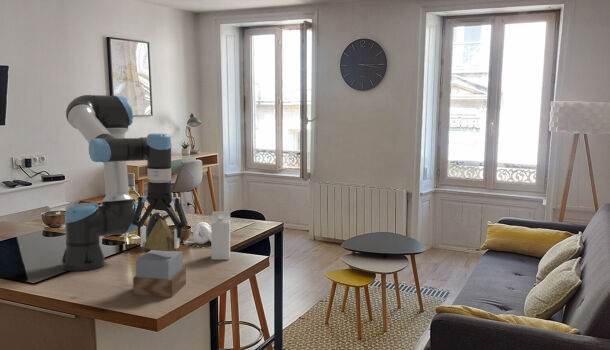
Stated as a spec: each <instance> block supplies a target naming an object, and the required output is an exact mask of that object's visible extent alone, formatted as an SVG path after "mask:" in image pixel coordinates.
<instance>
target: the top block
mask: <svg viewBox="0 0 610 350" xmlns="http://www.w3.org/2000/svg"><path fill="white" fill-rule="evenodd" d="M183 257H184V256H183V251H177V250H175V251H157V250H149V251H147V252H146V253H144V254H142V255H140V256H139V257H137V258H136V259H135V276H136V277H139V278H153V279H166V280H169V279H170V278H171V277H173V276H174V275H175V274H176V273H178V272H179V271H180V270H182V269H183V268H184V266H183V264H184V263H183V261H184V260H183V259H184V258H183Z"/></svg>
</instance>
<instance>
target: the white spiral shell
mask: <svg viewBox="0 0 610 350" xmlns="http://www.w3.org/2000/svg"><path fill="white" fill-rule="evenodd" d="M192 237H193V240H194V242H195V243H197V244H199V245H203V244H205V243H207V242H210V243H211V224H209V223H207V222H205V221H200V222H199V223H197V224H196V225H195V226H194V227H193V231H192Z"/></svg>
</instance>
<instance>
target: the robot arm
mask: <svg viewBox="0 0 610 350" xmlns="http://www.w3.org/2000/svg"><path fill="white" fill-rule="evenodd" d="M65 116H66V117H65V118H66V120H67V122H68V123H69V125H70V126H71V127H73V128H74V129H76V130H78V131H79V133H80V134H81V135H82V137H83V138H84V139H85V140H86V142H87V143H88V154H89V155H88V156H89V158H90V159H91V161H92V162H94V163H103V173H104V174H103V175H104V190H105V195H104V198H103V199H102V200H101V205H99V203H98V202H95V201H92V202H81V203H77V204H73V205H70V206H69V207H67V209H66V210H65V212H64V214H65V216H64V224H65V245H66V246H65V250H64V252H63V255H62V259H61V268H62V269H63V270H66V271H73V272H82V271H90V270H95V269H99V268H101V267H103V266H105V265H106V261H105V259H106V258H105V256H104V252H103V250H102V247H101V245H100V237H105V236H106V237H107V236H113V235H122V234H123V235H124V234H128V233H133V232H134V231H135V230H137V236H138V237H140V247H142V248H144V246H145V243H146V228H147V225H145V223H146V221H147V220H148V218H150V217H149V216H151V215H152V212H153V210H164V211H165V212H166V214H167V215H169V218H170V219H171V221H172V223H173V225H174V226H175V227H174V229H173V236H174V249H179V247H180V239H181V238H182V237H183V228H185V227H187V226H188V224H189V223H188V220H187V217H186V215H185V211H184V208H183V206H182V197H181V196H177V197H173V196H172V182H171V180H172V138H171V137H172V136H171V135H170V134H168V133H161V132H160V133H159V132H158V133H149V134H147V136H145V137H143V136H142V137H138V138H137V137H134V138H133V137H131V138H129V137H127V138H126V135H125V134H126V133H127V132H128V131H129V127H130V126H132V124H133V121H134V113H133V108H132V105H131V101H129V99H128V98H127V97H124V96H121V95H120V96H119V95H106V94H105V95H102V94H101V95H99V94H93V95H92V94H84V95H80V96H78V97H75V98H74V99H73V100H71V101H70V102H69V104H68V105H67V107H66V110H65ZM131 161H132V162H133V161H134V162H137V161H138V162H139V161H147V162H146V165H147V166H146V167H147V168H146V169H147V180H148V181H147V195H146V196H145V195H139V196H138V197H137V202H135V201H134V198H133V197H132V196H131V195H130V192H129V190H130V189H129V176H128V163H127V162H131ZM146 201H147V202H148V204H149V205H148V206H147V207H146V210H145V211H144V213H143V210H144V206H145V204H146ZM171 203H172V204H174V207H175V211H176V212H175V211H174V209H173V206H172V205H171ZM142 213H143V215H142ZM176 213H177V214H176ZM141 215H142V216H141ZM140 217H141V218H140Z"/></svg>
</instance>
